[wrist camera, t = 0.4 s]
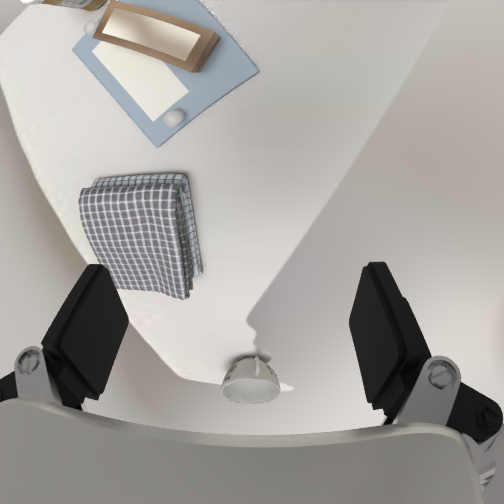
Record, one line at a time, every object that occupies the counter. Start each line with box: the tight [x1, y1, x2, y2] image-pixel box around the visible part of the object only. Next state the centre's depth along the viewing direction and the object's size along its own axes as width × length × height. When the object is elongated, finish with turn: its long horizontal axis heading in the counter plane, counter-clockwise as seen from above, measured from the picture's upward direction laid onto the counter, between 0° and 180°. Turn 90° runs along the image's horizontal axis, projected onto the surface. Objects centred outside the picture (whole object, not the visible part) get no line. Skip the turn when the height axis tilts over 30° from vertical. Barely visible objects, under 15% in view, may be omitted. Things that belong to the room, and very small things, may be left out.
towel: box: [79, 173, 203, 300], centre depth 39 cm, size 15×18×8 cm
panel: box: [72, 0, 259, 148], centre depth 26 cm, size 16×20×4 cm
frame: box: [92, 0, 221, 73], centre depth 23 cm, size 5×13×5 cm, turn 61°
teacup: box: [221, 356, 280, 404], centre depth 58 cm, size 15×12×8 cm
